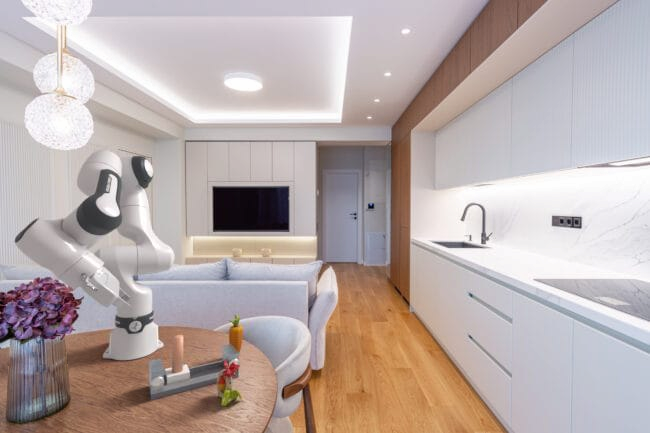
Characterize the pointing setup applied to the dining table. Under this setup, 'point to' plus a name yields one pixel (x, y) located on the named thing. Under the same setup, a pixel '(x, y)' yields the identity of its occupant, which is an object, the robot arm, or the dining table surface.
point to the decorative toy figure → (227, 383)
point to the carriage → (177, 363)
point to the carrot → (236, 334)
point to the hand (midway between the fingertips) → (128, 304)
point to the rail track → (198, 374)
